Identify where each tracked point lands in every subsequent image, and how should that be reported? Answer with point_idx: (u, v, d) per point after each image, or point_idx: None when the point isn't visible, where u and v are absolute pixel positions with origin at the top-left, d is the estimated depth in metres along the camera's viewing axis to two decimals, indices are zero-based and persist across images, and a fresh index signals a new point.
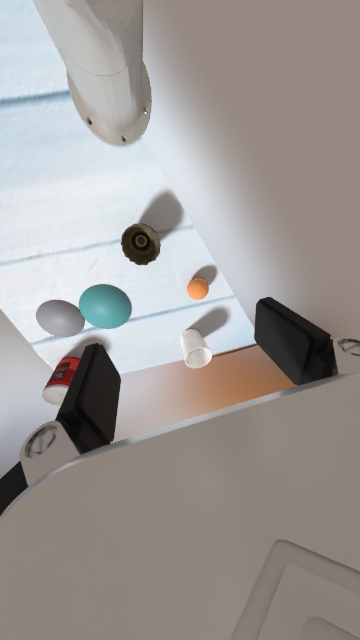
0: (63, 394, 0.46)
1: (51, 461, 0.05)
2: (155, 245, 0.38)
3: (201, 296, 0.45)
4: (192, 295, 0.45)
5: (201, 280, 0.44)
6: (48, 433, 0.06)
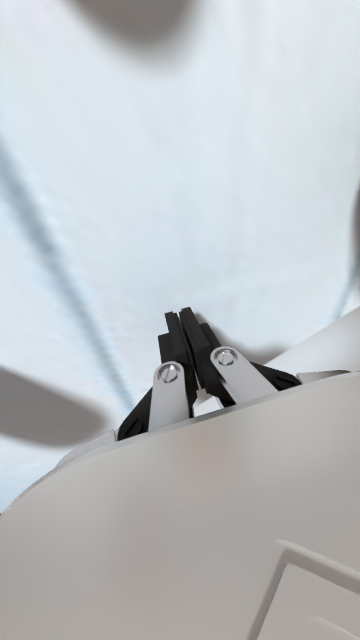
0: None
1: (168, 394, 0.06)
2: None
3: None
4: None
5: None
6: (173, 371, 0.07)
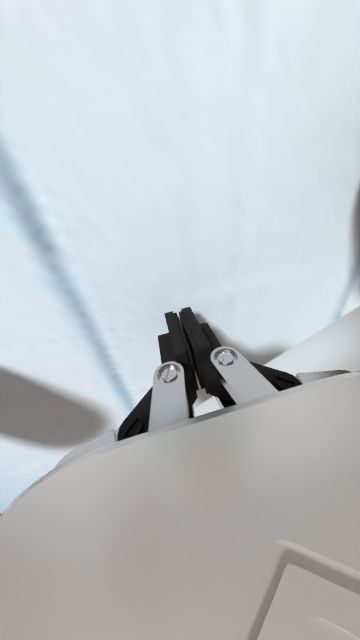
0: None
1: (168, 394, 0.06)
2: None
3: None
4: None
5: None
6: (173, 371, 0.07)
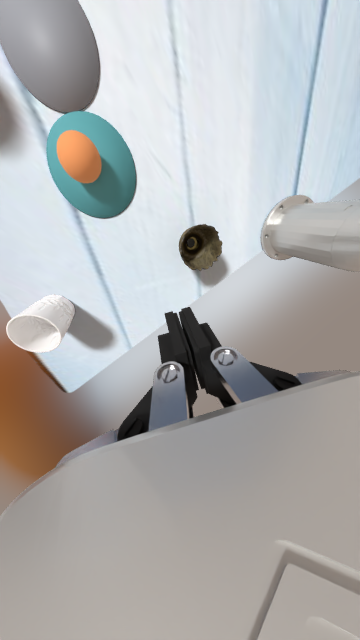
0: None
1: (168, 394, 0.06)
2: (192, 261, 0.35)
3: None
4: None
5: None
6: (173, 371, 0.07)
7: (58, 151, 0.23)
